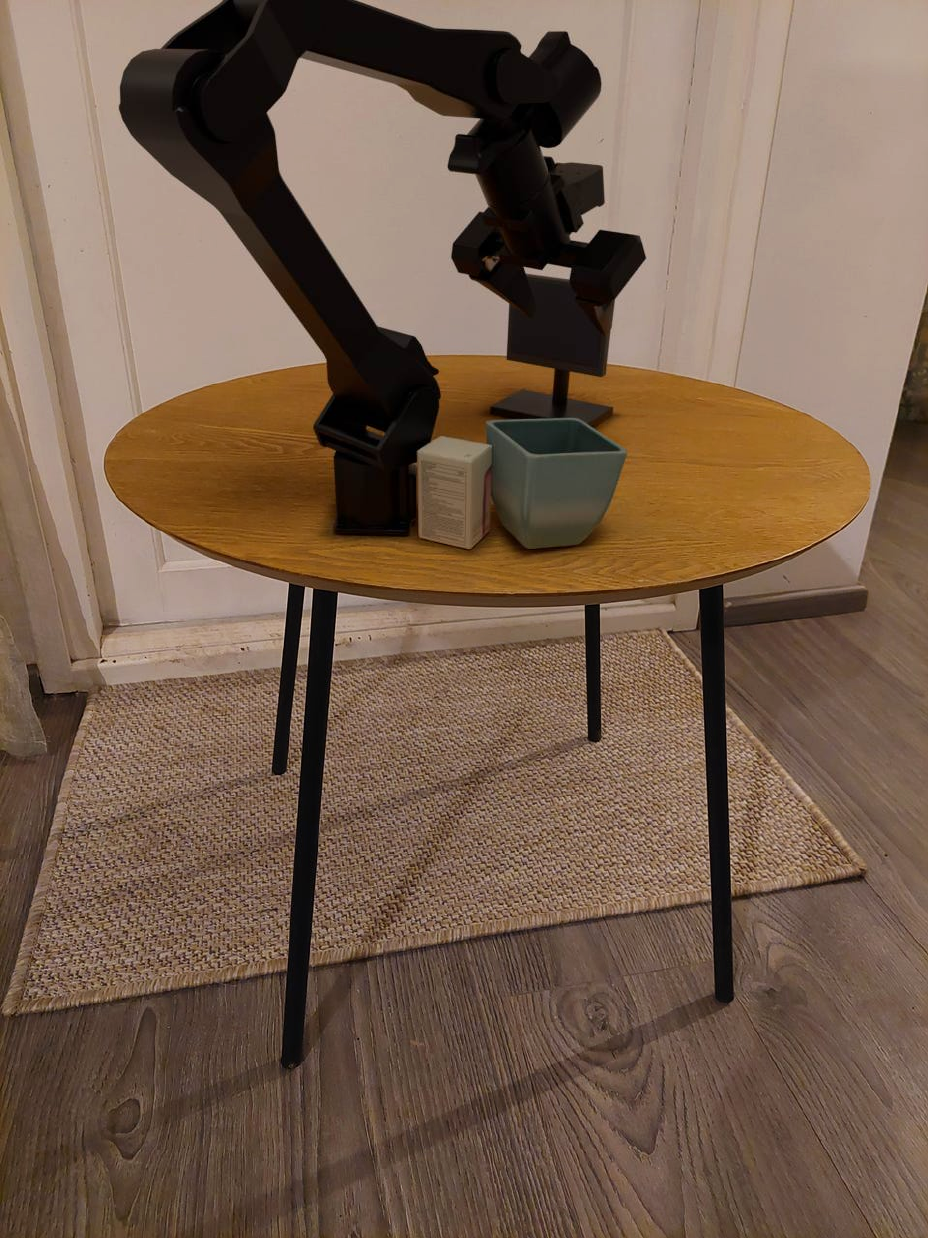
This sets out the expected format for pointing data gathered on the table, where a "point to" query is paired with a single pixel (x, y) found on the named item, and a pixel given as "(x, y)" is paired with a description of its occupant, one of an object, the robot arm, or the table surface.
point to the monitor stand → (551, 404)
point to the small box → (454, 491)
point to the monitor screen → (556, 331)
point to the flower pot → (552, 478)
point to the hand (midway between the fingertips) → (569, 322)
